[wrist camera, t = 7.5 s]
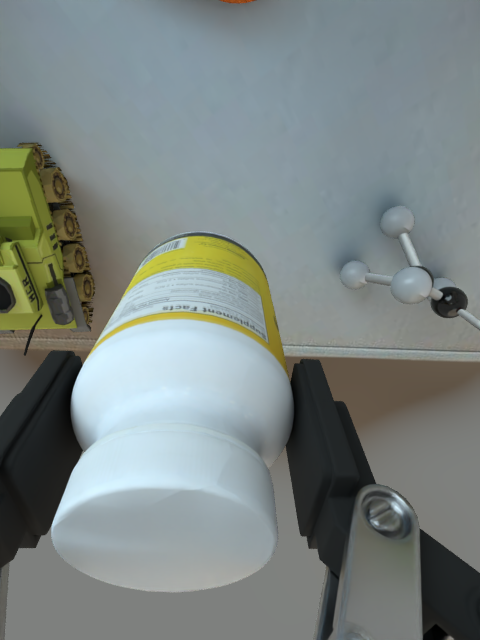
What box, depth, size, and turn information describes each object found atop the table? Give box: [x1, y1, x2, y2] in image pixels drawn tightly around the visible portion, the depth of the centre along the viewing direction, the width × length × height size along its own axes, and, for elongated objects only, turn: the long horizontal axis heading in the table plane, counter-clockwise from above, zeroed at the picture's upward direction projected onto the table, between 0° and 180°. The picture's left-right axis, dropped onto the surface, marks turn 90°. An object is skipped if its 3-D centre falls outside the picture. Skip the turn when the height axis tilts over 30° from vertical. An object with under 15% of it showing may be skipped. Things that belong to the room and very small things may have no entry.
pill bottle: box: [51, 231, 294, 592], centre depth 12 cm, size 6×6×12 cm
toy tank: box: [0, 143, 95, 355], centre depth 25 cm, size 8×15×10 cm, turn 0°
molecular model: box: [340, 206, 480, 330], centre depth 28 cm, size 8×12×11 cm
